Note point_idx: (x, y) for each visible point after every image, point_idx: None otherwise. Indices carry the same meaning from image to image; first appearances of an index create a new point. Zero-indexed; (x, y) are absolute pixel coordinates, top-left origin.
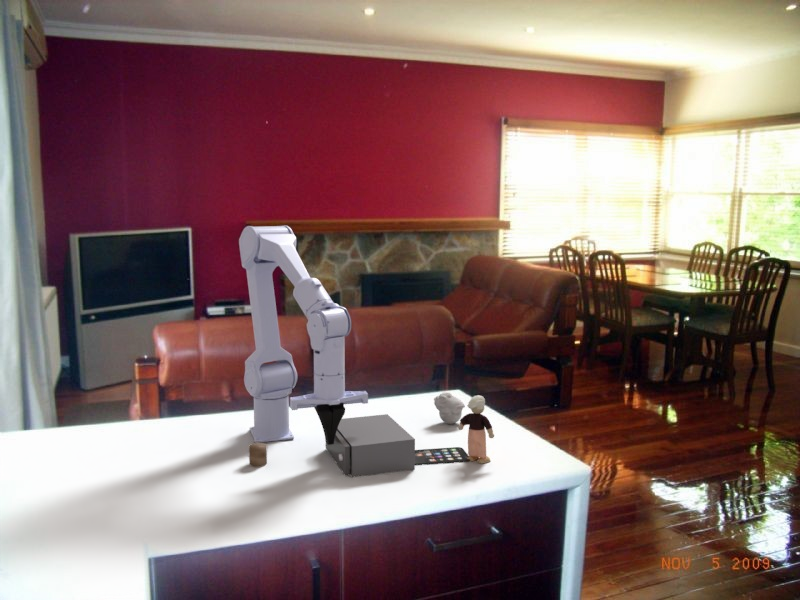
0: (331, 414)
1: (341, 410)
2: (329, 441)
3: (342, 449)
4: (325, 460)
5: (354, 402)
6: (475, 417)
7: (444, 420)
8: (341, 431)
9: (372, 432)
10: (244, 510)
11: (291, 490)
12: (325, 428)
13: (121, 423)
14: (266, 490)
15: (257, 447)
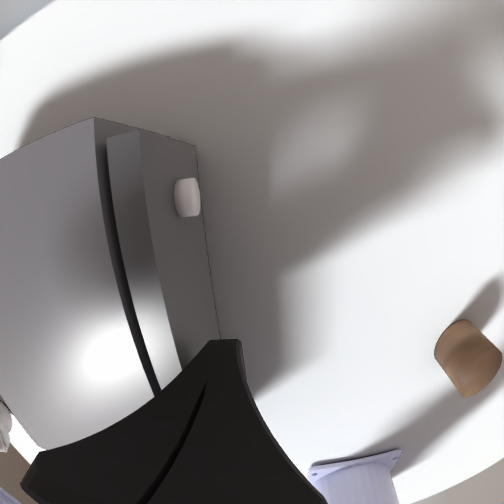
0: (165, 498)
1: (36, 485)
2: (230, 346)
3: (162, 197)
4: (250, 337)
5: (6, 497)
6: None
7: (3, 409)
8: None
9: (16, 331)
10: (500, 41)
11: (417, 86)
12: (253, 402)
13: (491, 464)
14: (478, 124)
15: (489, 361)
